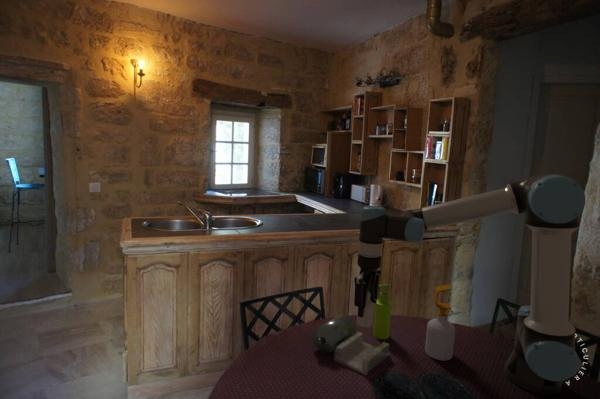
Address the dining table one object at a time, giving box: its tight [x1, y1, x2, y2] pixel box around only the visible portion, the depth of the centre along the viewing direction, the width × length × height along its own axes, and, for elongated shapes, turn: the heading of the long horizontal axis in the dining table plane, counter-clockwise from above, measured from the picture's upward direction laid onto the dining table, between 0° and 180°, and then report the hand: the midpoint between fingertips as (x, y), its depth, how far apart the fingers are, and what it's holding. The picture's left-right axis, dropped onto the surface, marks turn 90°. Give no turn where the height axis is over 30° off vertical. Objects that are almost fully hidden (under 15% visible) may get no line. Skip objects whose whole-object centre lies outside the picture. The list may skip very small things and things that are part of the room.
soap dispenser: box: [372, 283, 393, 340], centre depth 138 cm, size 6×7×20 cm
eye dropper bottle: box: [356, 291, 375, 328], centre depth 121 cm, size 4×6×12 cm
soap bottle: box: [424, 284, 456, 361], centre depth 127 cm, size 9×9×25 cm
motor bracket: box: [311, 313, 391, 377], centre depth 125 cm, size 22×18×9 cm
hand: (364, 323), depth 122 cm, fingers closed on eye dropper bottle, 4 cm apart
